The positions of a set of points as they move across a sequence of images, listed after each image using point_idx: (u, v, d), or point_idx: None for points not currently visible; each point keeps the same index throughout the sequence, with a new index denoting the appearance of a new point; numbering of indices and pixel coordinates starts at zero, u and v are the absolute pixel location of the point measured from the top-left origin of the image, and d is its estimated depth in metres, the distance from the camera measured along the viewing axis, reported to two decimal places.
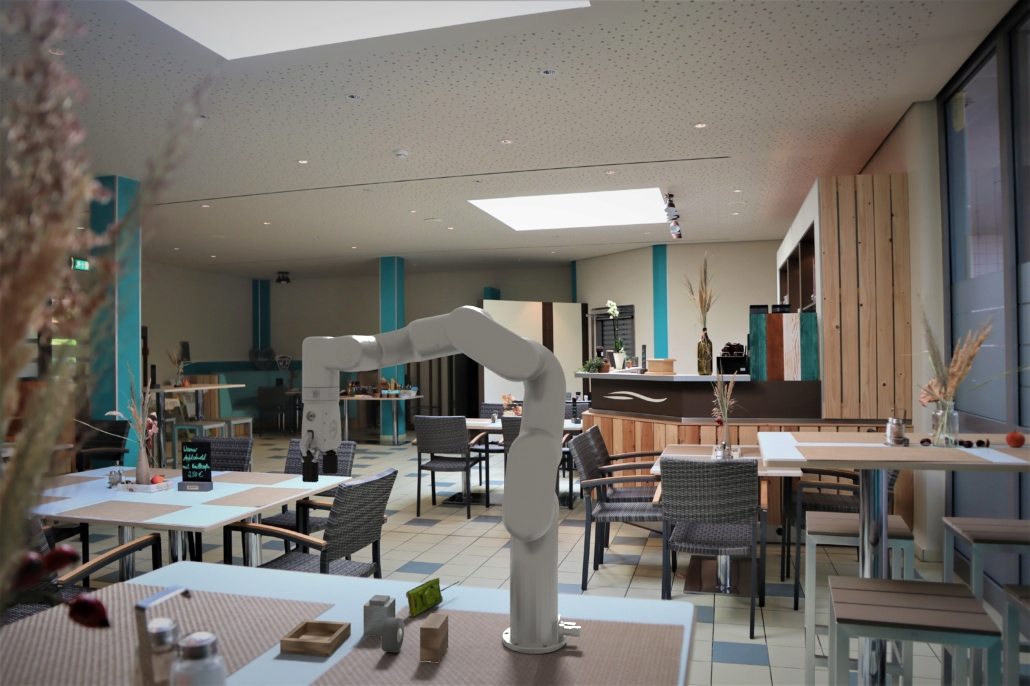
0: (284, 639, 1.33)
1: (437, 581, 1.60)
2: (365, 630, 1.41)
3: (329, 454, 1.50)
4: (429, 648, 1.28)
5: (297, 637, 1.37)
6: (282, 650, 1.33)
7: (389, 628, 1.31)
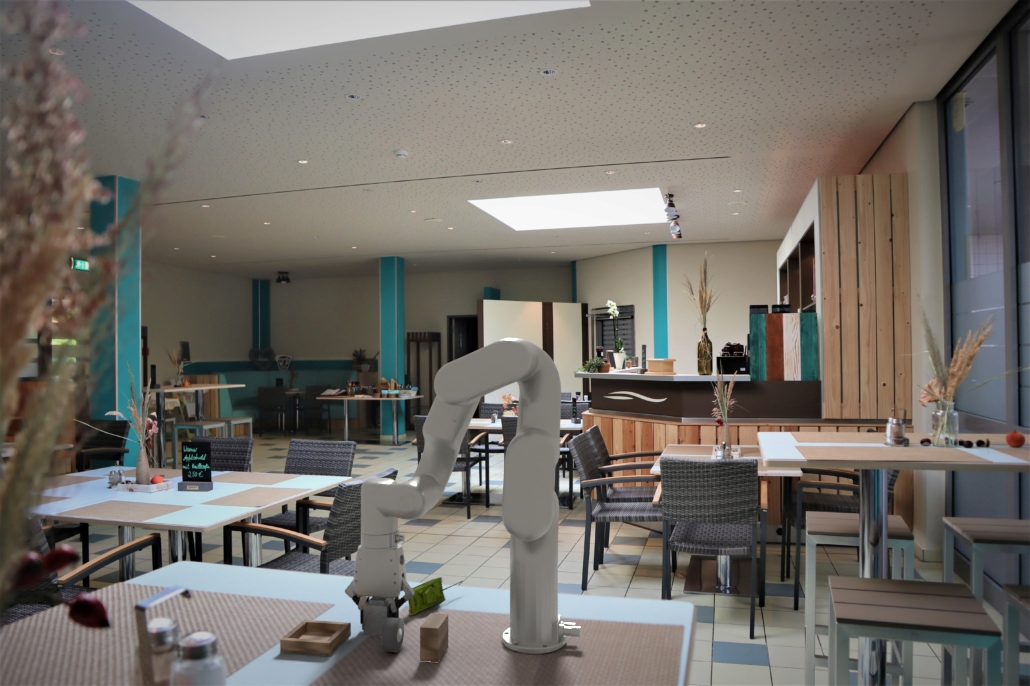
0: (284, 639, 1.33)
1: (439, 580, 1.60)
2: (365, 630, 1.41)
3: None
4: (429, 648, 1.28)
5: (297, 637, 1.37)
6: (282, 650, 1.33)
7: (389, 628, 1.31)
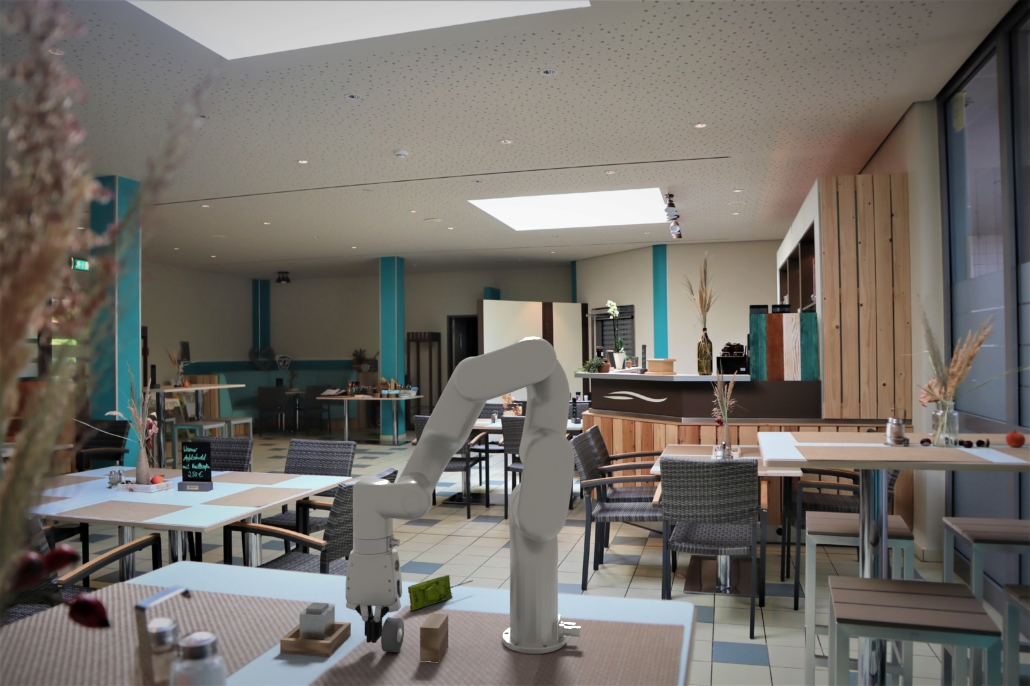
0: (284, 639, 1.33)
1: (446, 578, 1.62)
2: None
3: (370, 619, 1.34)
4: (429, 648, 1.28)
5: (297, 637, 1.37)
6: (282, 650, 1.33)
7: (389, 628, 1.31)
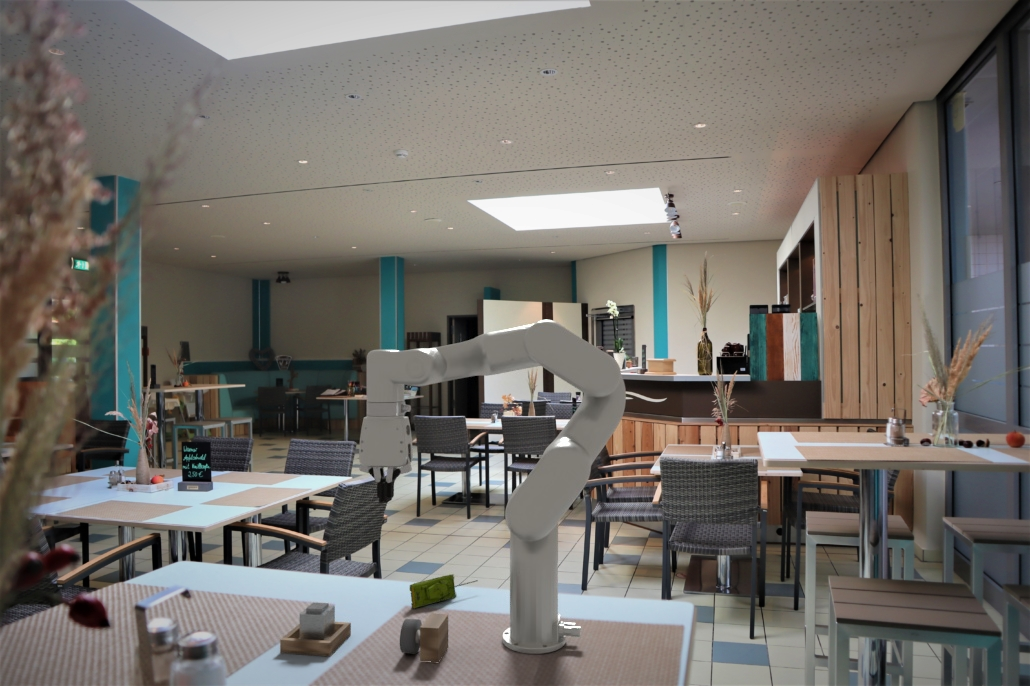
0: (284, 639, 1.33)
1: (450, 577, 1.62)
2: None
3: (383, 481, 1.41)
4: (429, 648, 1.28)
5: (297, 637, 1.37)
6: (282, 650, 1.33)
7: (408, 629, 1.30)
